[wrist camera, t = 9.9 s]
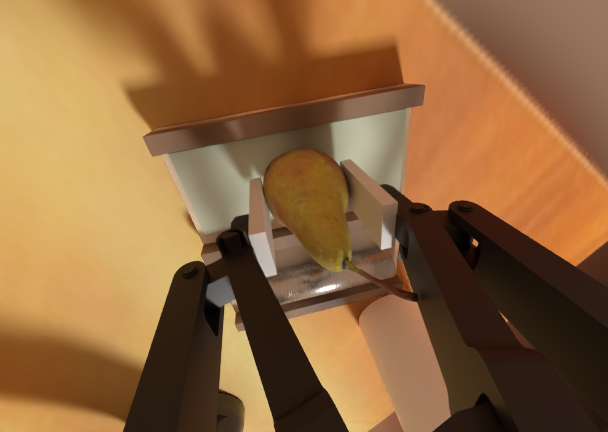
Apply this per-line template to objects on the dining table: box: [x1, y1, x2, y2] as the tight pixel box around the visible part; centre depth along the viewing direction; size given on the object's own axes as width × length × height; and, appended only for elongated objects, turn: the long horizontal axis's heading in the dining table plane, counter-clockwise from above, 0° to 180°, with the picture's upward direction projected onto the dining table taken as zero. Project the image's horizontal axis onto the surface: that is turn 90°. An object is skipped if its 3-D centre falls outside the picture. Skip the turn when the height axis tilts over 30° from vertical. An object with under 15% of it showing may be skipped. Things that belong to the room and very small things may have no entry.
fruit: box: [263, 148, 419, 302], centre depth 13 cm, size 6×6×12 cm
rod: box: [266, 247, 396, 305], centre depth 23 cm, size 14×3×3 cm, turn 98°
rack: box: [143, 83, 425, 332], centre depth 21 cm, size 18×20×3 cm
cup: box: [359, 294, 451, 432], centre depth 26 cm, size 8×8×16 cm
